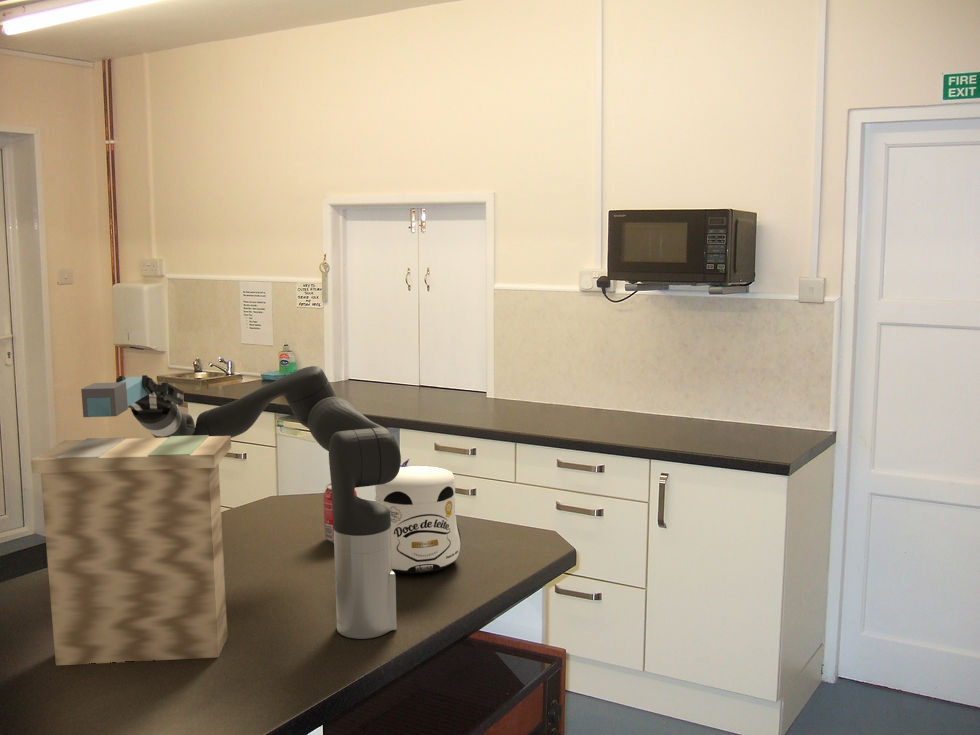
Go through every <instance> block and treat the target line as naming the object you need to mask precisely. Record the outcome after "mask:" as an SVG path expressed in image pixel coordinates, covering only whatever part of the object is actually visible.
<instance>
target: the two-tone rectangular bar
mask: <svg viewBox="0 0 980 735" xmlns="http://www.w3.org/2000/svg"><path fill="white" fill-rule="evenodd" d="M80 391H81V392H80V393H81V402H82V403H81V404H82V417H83V418H102V417H104V418H106V417H110V418H111V417H117V416H120V415H121V414H122V413H123V414H124V412H125V411H128V410H129V408H128V406H130V405H131V404H133V403H135V402H136V401H138V400H140V399H141V398H143V397H145V396H146V395H148V394H149V393H147V392H146V391H145V390H144V388H143V387H142V376H129V377H127V378H126V379H125V380H123V381H121V382H116V381H115V382H94V383H92V384H88V385H87V386H85V387H83V388H81V390H80Z"/></svg>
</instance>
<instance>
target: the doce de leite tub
mask: <svg viewBox="0 0 980 735" xmlns="http://www.w3.org/2000/svg"><path fill="white" fill-rule="evenodd" d="M409 466H410V467H400V470H399V472H398V474H397V476H396V477H395V478H394V479H393V480H392V481H390V482H388V483H385V484H382V485H374V486H375V500H374V501H375V502H376V503H380V504H382V505H384V506H386V507H387V508H388V509H389V511H390V515H391V555H392V570H393V572H394V573H402V574H425V573H431V572H437V571H441V570H443V569H445V568H448V566H451V565H452V564H453V563H455V562H456V560H457V559H458V557H459V554H460V550H461V542H462V541H461V533H460V529H459V526H458V525H459V524H458V522H457V517H456V516H457V515H456V498H457V497H456V480H455V476H454V474H453V472H452V471H451V470H448V469H447V468H440V467H437V466H436V467H435V466H425V465H424V466H422V465H421V466H419V465H416V466H415V465H409Z"/></svg>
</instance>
